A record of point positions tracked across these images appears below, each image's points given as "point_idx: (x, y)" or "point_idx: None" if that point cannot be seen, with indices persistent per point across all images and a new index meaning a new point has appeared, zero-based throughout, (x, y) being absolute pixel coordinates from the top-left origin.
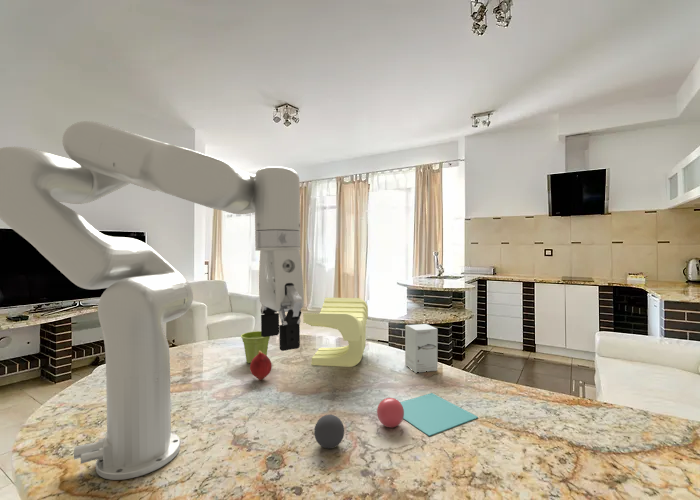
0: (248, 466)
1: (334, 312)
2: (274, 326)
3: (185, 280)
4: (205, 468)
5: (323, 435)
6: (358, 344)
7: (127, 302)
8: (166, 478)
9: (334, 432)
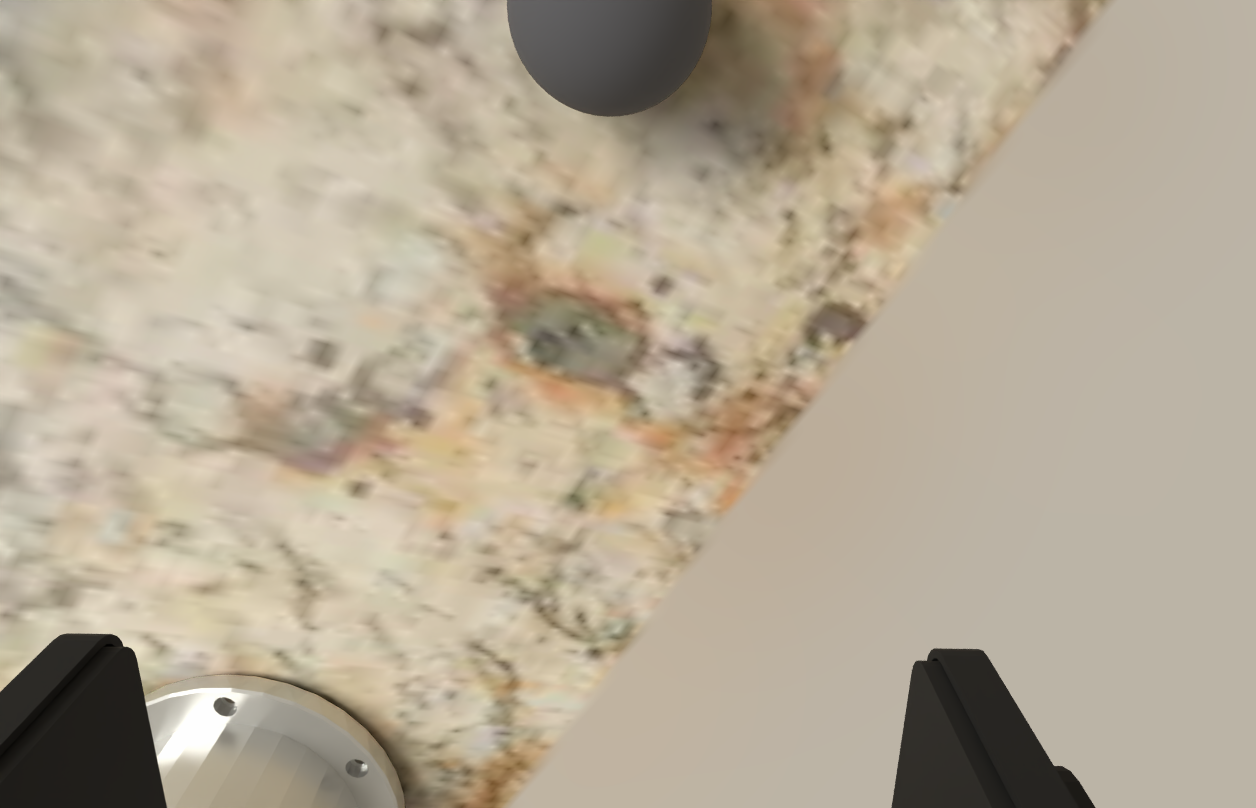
0: (553, 454)
1: None
2: (60, 798)
3: None
4: (469, 605)
5: (672, 91)
6: None
7: None
8: (460, 729)
9: (706, 20)
